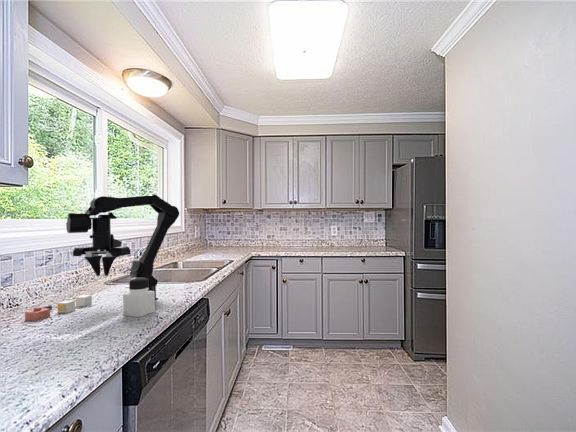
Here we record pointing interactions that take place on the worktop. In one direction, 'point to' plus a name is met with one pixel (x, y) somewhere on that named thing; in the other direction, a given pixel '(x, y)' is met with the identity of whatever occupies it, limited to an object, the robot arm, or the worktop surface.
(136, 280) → the medicine bottle
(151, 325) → the worktop surface
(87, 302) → the white square block
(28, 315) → the cap
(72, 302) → the matte white cube
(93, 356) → the worktop surface
